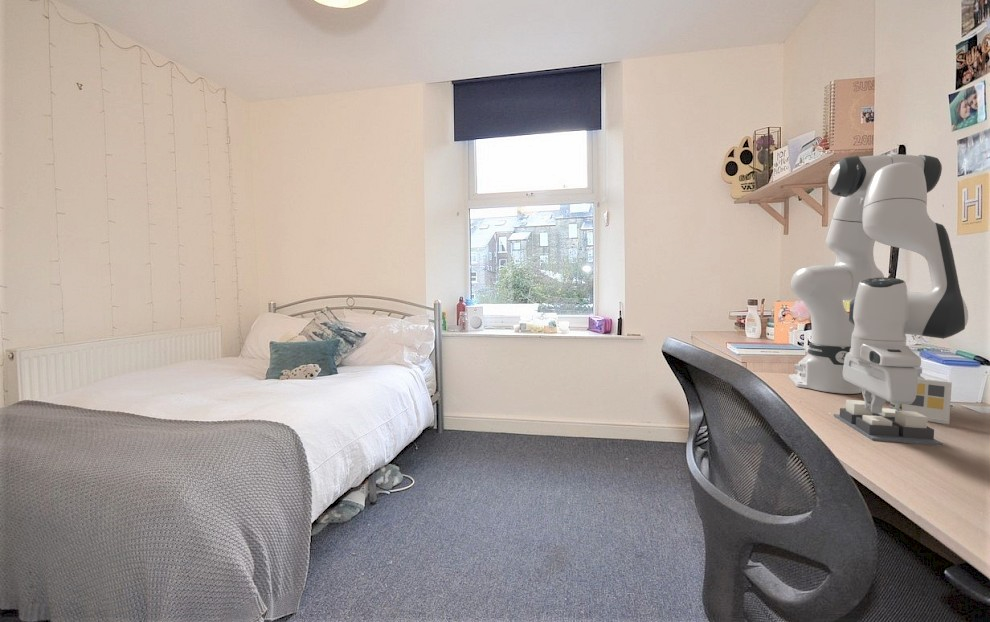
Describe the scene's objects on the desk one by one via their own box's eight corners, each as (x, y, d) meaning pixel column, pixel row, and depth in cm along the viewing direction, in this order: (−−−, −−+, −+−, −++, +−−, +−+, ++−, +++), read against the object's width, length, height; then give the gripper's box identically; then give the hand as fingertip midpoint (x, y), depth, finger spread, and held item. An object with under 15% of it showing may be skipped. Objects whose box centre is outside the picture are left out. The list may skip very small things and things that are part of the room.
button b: (894, 423, 91) (895, 410, 91) (914, 424, 90) (915, 411, 90) (905, 429, 87) (906, 415, 87) (926, 430, 86) (927, 417, 86)
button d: (861, 427, 93) (862, 414, 92) (881, 429, 92) (881, 416, 91) (871, 433, 89) (872, 420, 89) (891, 434, 88) (892, 421, 88)
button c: (845, 411, 99) (846, 399, 99) (863, 412, 98) (863, 400, 98) (853, 416, 96) (854, 404, 95) (872, 417, 95) (873, 405, 94)
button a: (874, 419, 98) (875, 407, 97) (893, 421, 97) (894, 408, 96) (884, 424, 94) (885, 412, 94) (903, 426, 93) (904, 413, 93)
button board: (833, 416, 102) (834, 405, 102) (891, 419, 99) (892, 409, 99) (872, 440, 87) (872, 427, 87) (942, 445, 84) (943, 433, 83)
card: (901, 415, 102) (903, 376, 101) (948, 422, 96) (951, 381, 95) (901, 416, 101) (903, 377, 100) (949, 424, 95) (951, 383, 94)
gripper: (836, 342, 100) (833, 396, 102) (887, 359, 81) (883, 426, 82) (867, 343, 98) (863, 398, 100) (927, 361, 79) (922, 429, 80)
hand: (872, 411), depth 91 cm, fingers closed
